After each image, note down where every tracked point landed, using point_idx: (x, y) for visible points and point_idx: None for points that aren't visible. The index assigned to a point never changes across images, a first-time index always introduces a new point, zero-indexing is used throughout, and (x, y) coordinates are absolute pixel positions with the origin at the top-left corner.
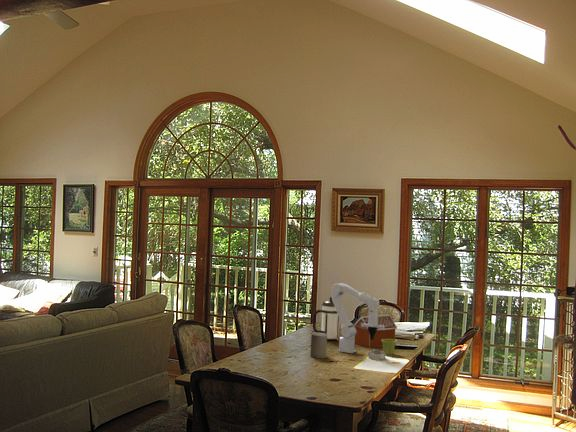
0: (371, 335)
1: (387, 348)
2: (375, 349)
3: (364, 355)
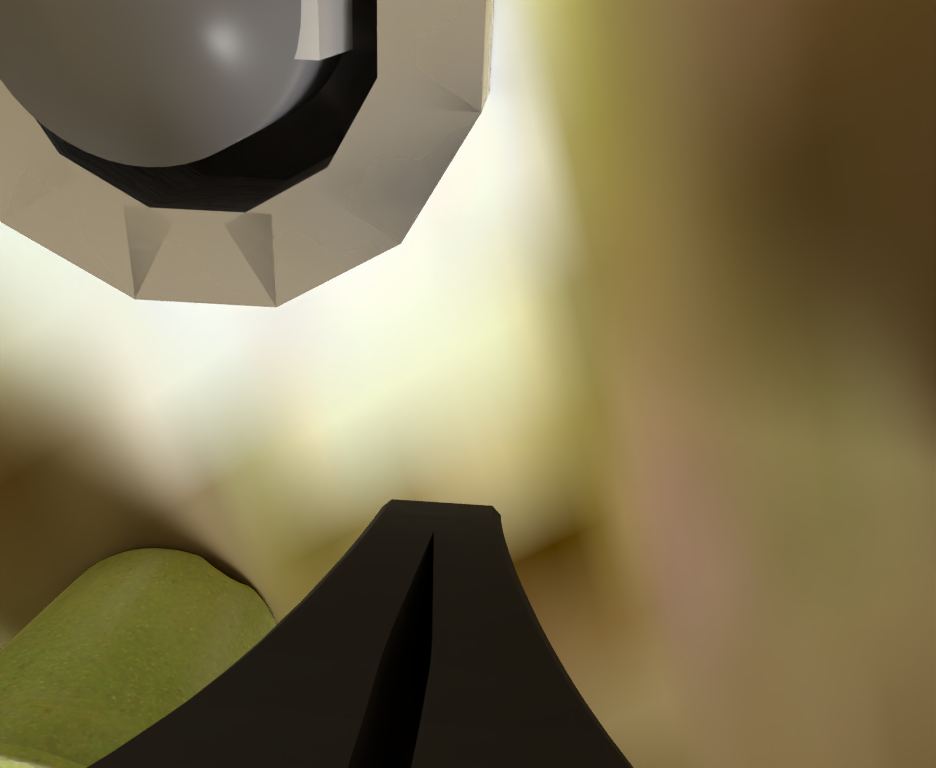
0: (433, 615)
1: (83, 633)
2: (225, 68)
3: (665, 186)
